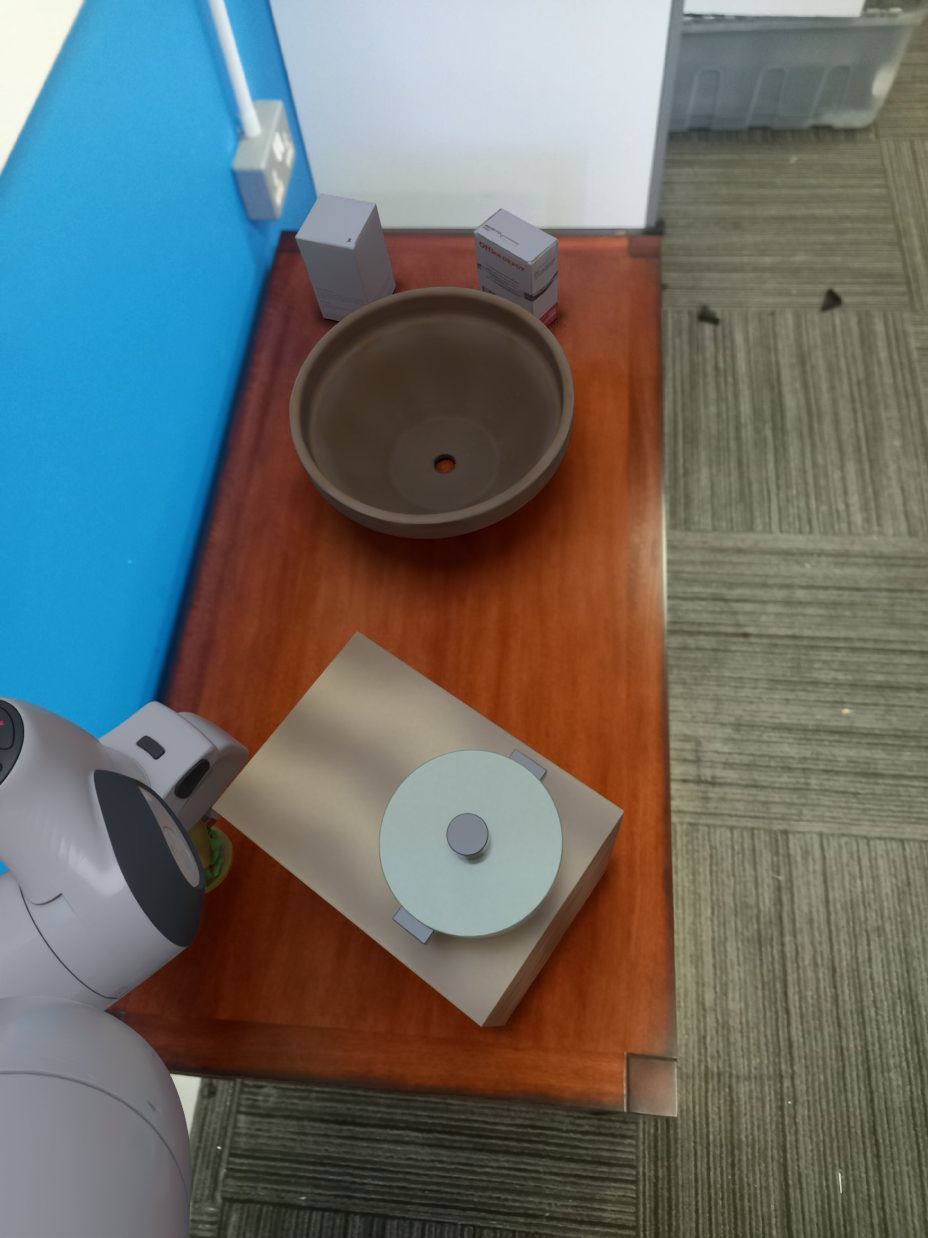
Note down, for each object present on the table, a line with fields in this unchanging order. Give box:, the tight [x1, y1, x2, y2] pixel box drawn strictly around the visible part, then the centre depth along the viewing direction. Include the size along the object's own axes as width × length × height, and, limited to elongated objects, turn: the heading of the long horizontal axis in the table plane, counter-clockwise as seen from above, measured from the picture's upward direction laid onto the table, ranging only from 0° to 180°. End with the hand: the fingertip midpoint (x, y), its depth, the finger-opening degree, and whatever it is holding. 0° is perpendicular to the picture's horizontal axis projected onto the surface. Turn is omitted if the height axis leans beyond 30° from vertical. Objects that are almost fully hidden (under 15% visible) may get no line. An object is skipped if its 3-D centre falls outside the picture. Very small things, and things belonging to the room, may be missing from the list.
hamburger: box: [187, 819, 234, 895], centre depth 73 cm, size 8×7×12 cm
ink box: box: [473, 207, 559, 328], centre depth 102 cm, size 8×5×12 cm, turn 48°
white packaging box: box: [294, 193, 397, 322], centre depth 105 cm, size 7×7×13 cm
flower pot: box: [288, 286, 575, 540], centre depth 93 cm, size 28×28×13 cm
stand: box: [212, 630, 626, 1028], centre depth 70 cm, size 16×23×24 cm
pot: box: [379, 749, 563, 946], centre depth 54 cm, size 12×11×8 cm
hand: (177, 856), depth 74 cm, fingers closed on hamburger, 6 cm apart
